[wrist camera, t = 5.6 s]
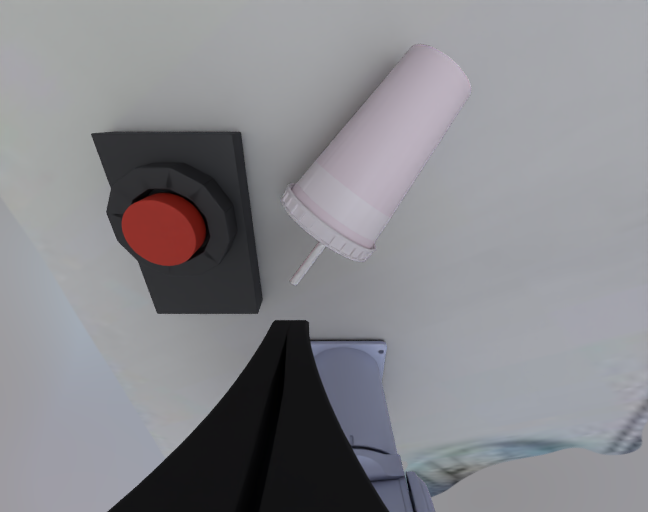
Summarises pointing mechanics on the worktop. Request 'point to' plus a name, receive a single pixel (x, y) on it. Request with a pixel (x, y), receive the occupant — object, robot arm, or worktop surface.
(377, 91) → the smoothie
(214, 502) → the robot arm
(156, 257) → the power button
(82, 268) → the worktop surface
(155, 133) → the black base plate
